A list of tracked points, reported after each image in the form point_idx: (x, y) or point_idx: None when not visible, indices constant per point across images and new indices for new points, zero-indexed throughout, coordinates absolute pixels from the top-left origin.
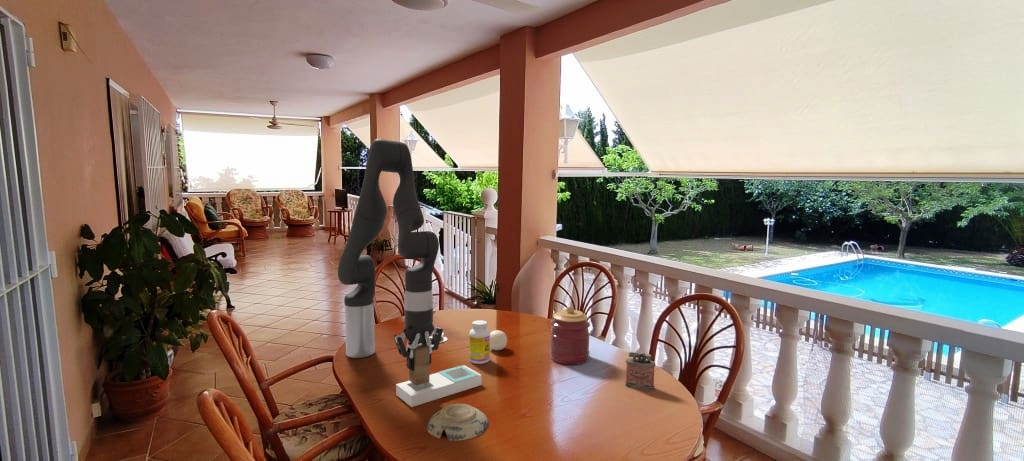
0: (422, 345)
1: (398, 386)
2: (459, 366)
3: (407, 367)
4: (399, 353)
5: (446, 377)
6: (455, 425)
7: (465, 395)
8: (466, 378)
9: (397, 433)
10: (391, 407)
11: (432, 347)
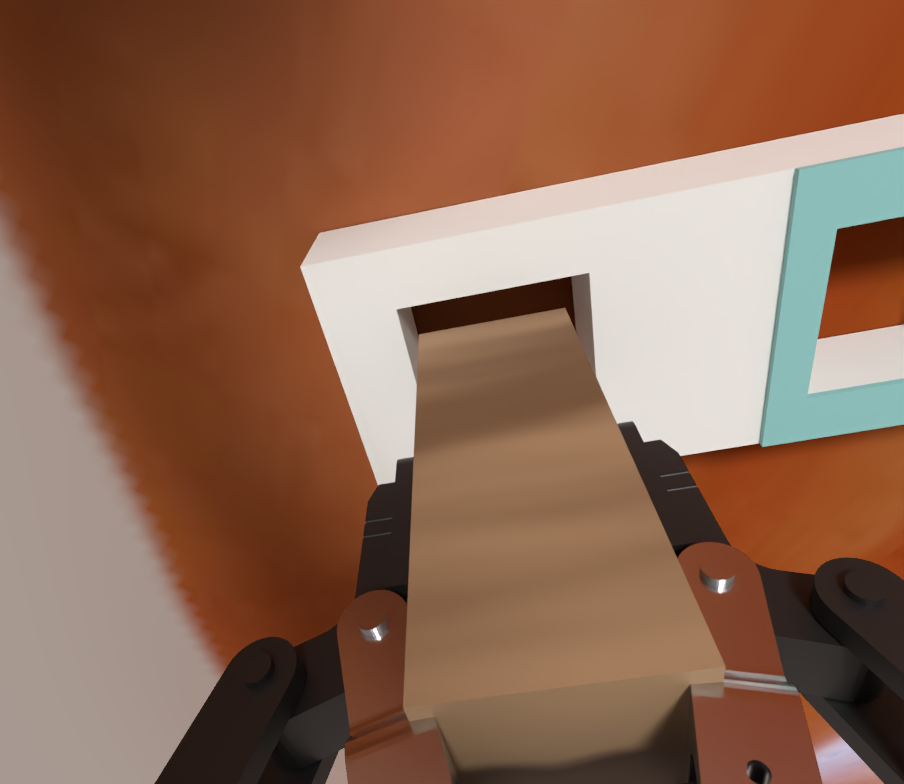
0: (627, 768)
1: (318, 313)
2: None
3: (377, 497)
4: (227, 666)
5: (775, 330)
6: None
7: (758, 443)
8: (884, 424)
9: (277, 622)
10: (265, 405)
11: (788, 678)
